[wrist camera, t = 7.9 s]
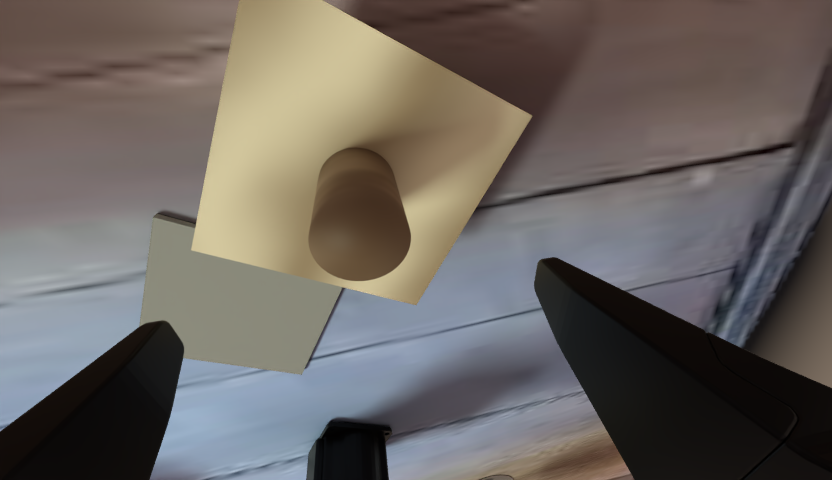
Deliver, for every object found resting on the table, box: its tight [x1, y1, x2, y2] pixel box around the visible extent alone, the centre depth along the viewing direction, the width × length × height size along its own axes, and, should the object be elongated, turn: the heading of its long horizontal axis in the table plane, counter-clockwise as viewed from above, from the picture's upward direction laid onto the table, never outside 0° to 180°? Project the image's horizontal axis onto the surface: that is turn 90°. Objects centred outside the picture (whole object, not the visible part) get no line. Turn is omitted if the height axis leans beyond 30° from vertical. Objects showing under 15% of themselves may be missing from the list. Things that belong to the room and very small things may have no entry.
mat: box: [139, 214, 342, 375], centre depth 23 cm, size 11×11×1 cm
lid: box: [191, 0, 532, 305], centre depth 13 cm, size 11×11×5 cm
